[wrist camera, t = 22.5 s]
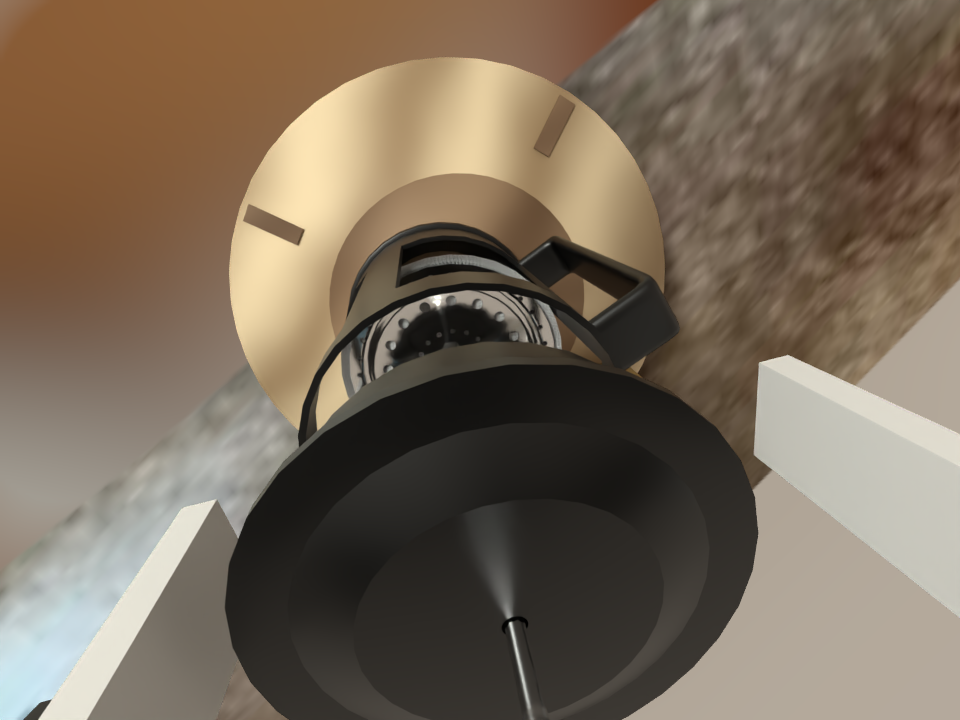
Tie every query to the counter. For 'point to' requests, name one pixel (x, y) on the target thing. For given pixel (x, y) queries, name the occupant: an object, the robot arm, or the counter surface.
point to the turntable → (423, 203)
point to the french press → (490, 503)
